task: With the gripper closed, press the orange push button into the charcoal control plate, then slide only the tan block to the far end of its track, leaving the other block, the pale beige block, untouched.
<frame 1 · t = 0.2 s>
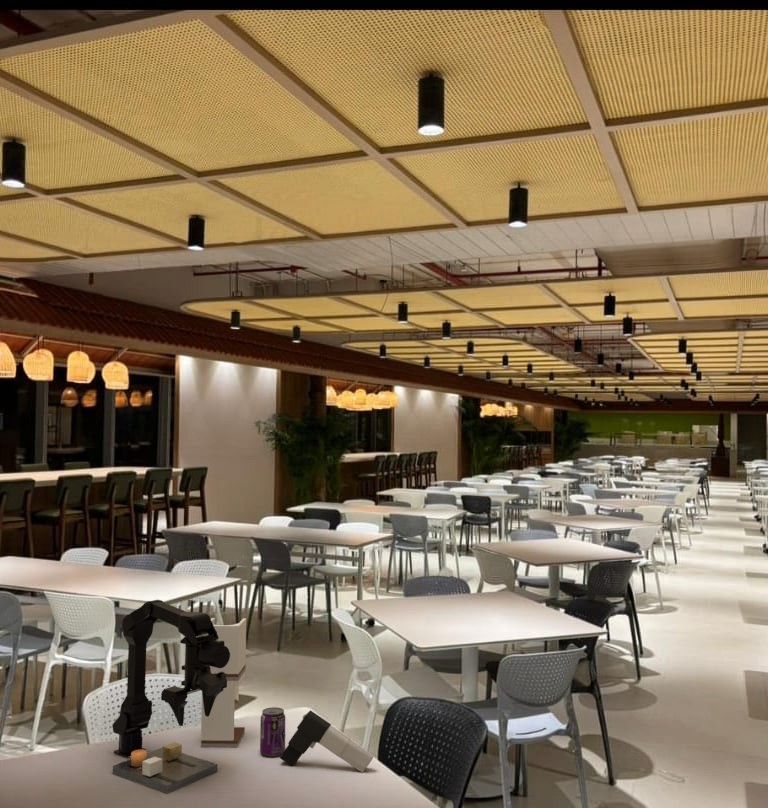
hand: (194, 720, 212), 14 cm above the table, fingers open, 9 cm apart
control plate: (165, 772, 213), on the table
tan block: (172, 751, 217), point 4 cm above the table, slide at 0.0 cm
handheld device: (326, 768, 217), on the table
beverage can: (272, 754, 227), on the table
beige tower stand: (223, 741, 237), on the table
beige block: (152, 766, 207), point 4 cm above the table, slide at 0.0 cm
orange push button: (138, 757, 213), point 4 cm above the table, slide at 0.0 cm
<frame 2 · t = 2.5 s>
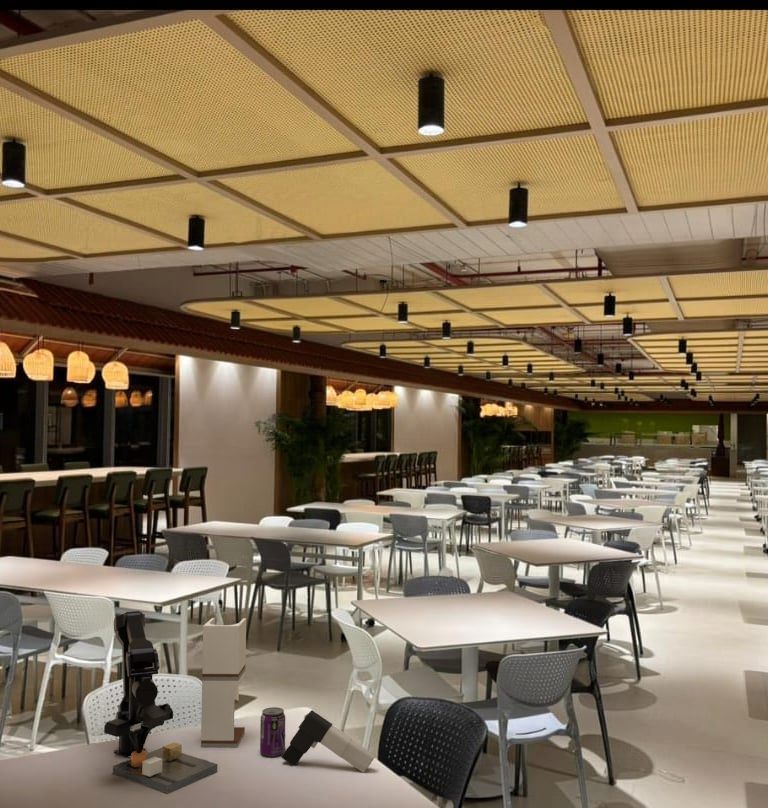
hand: (139, 752, 213), 5 cm above the table, fingers closed, pressing on orange push button
orange push button: (138, 758, 213), point 4 cm above the table, slide at 0.2 cm, touching gripper
everything else where it was.
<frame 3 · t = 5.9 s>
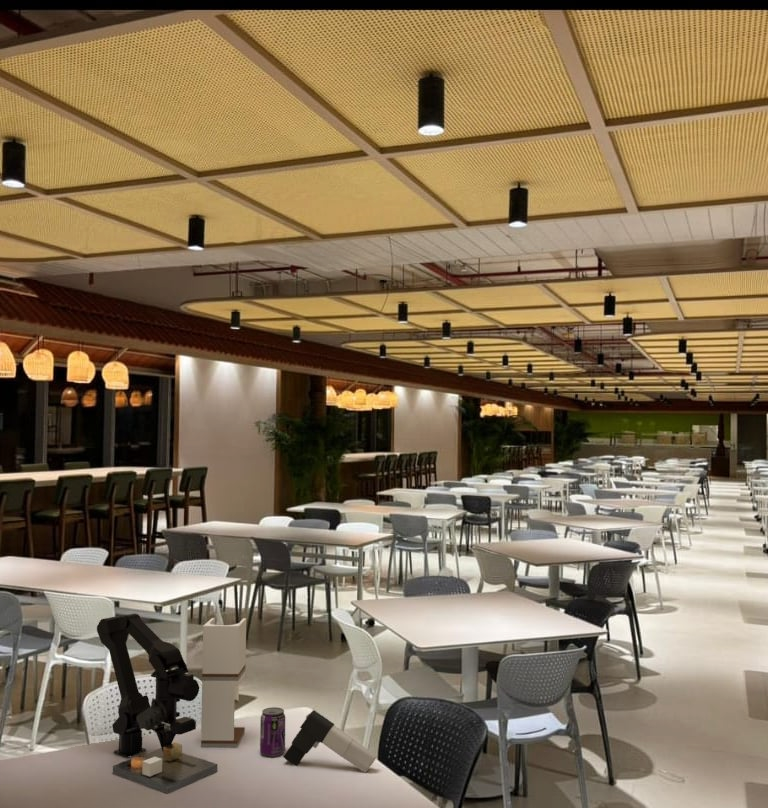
hand: (165, 752, 219), 3 cm above the table, fingers closed
tan block: (172, 751, 217), point 4 cm above the table, slide at 0.1 cm, touching gripper
orange push button: (138, 765, 213), point 2 cm above the table, slide at 1.9 cm
everything else where it was.
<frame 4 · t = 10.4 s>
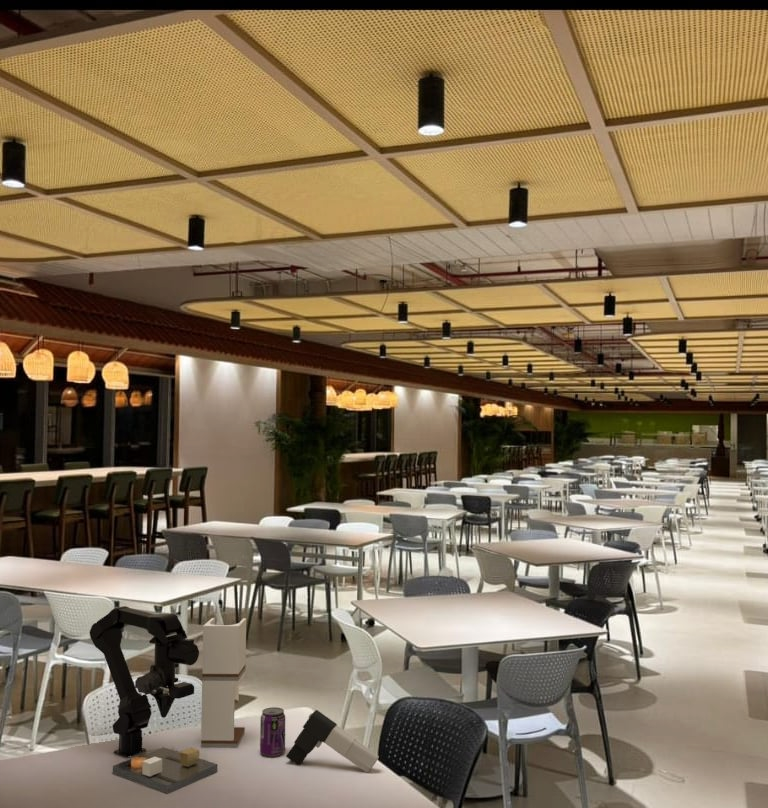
hand: (163, 717, 221), 12 cm above the table, fingers closed
tan block: (189, 757, 213), point 4 cm above the table, slide at 7.0 cm
at the end: orange push button slide at 1.9 cm; tan block slide at 7.0 cm; beige block slide at 0.0 cm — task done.
